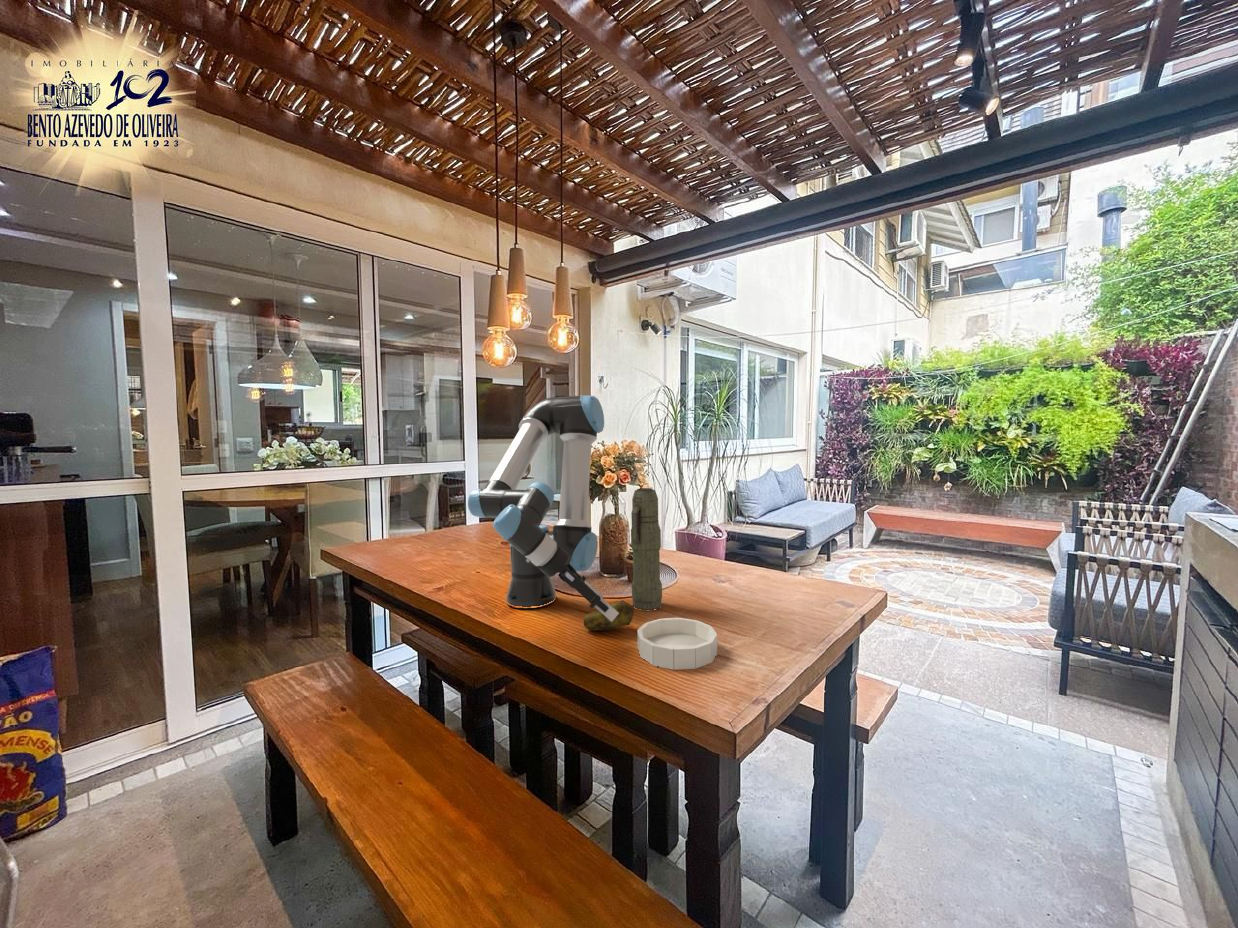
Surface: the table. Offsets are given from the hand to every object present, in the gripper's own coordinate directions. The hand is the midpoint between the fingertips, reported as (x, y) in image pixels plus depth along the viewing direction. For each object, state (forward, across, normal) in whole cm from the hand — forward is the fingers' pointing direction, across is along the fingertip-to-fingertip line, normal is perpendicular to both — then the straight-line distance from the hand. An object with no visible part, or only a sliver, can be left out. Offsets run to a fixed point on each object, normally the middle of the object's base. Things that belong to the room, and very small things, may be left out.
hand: (606, 608), depth 125 cm
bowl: (+13, +16, +4) cm, 21 cm away
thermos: (+16, -14, +7) cm, 23 cm away
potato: (+5, -1, -4) cm, 7 cm away
